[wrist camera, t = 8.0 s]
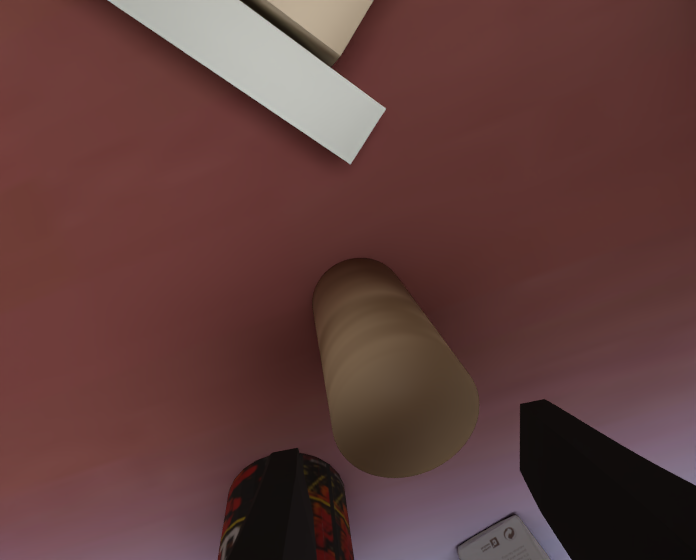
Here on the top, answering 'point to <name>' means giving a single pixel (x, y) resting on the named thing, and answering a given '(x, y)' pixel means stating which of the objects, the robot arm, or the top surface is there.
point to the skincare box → (503, 543)
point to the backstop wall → (265, 67)
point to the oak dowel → (388, 374)
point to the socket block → (315, 22)
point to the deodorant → (324, 500)
